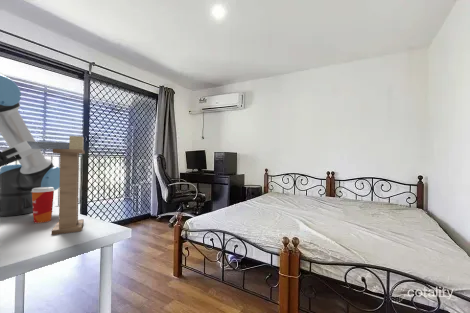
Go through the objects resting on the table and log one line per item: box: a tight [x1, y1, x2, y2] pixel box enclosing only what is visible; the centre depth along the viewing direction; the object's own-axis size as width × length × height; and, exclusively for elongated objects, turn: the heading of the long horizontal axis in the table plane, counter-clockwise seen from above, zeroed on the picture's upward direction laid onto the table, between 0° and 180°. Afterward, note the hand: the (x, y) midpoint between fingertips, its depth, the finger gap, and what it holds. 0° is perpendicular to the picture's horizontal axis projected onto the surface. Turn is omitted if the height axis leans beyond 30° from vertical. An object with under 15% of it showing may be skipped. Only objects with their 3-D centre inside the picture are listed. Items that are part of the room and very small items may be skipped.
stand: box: [51, 149, 86, 236], centre depth 85 cm, size 12×8×30 cm
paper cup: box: [31, 187, 56, 224], centre depth 94 cm, size 8×8×14 cm
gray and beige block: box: [27, 135, 85, 150], centre depth 83 cm, size 6×16×5 cm, turn 121°
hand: (34, 145), depth 80 cm, fingers open, 13 cm apart
